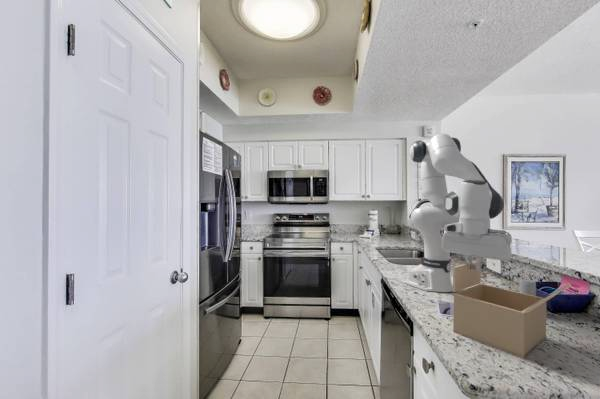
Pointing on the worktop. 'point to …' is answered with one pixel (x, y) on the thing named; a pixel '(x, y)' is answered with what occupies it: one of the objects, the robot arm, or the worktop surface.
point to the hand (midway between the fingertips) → (473, 269)
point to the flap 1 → (465, 277)
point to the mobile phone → (446, 308)
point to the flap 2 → (548, 298)
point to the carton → (500, 318)
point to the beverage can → (527, 287)
